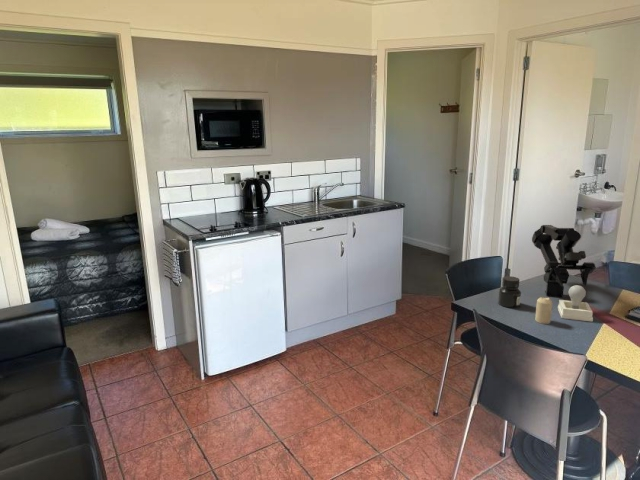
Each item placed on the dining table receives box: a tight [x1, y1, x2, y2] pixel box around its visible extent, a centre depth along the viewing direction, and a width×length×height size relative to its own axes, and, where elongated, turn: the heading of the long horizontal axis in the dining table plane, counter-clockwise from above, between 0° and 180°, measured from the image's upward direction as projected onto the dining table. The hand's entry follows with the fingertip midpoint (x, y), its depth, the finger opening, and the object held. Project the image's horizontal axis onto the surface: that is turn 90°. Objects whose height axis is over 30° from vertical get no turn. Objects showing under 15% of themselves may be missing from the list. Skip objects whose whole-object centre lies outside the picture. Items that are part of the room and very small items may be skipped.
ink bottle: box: [497, 275, 522, 309], centre depth 195 cm, size 10×9×12 cm
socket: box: [557, 299, 594, 322], centre depth 183 cm, size 11×11×4 cm
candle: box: [534, 296, 553, 325], centre depth 177 cm, size 6×6×10 cm
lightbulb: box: [568, 284, 587, 309], centre depth 182 cm, size 6×6×11 cm
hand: (573, 285), depth 185 cm, fingers open, 9 cm apart
